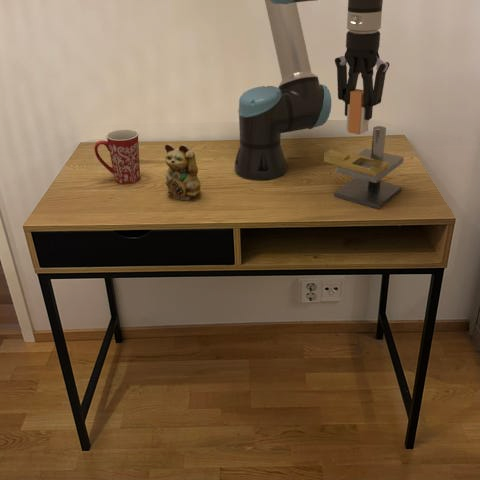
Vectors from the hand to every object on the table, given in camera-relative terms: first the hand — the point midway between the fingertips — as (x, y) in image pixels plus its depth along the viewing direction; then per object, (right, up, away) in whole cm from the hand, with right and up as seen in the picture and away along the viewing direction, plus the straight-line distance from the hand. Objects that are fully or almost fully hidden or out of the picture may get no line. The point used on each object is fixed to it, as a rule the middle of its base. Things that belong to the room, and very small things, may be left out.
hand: (357, 130), depth 144 cm
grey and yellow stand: (+4, -14, +14) cm, 20 cm away
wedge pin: (0, 0, 0) cm, 0 cm away
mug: (-63, -10, +25) cm, 69 cm away
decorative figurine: (-44, -15, +15) cm, 49 cm away
